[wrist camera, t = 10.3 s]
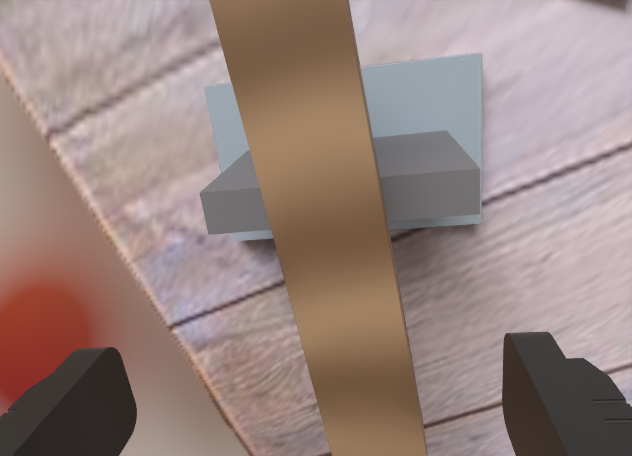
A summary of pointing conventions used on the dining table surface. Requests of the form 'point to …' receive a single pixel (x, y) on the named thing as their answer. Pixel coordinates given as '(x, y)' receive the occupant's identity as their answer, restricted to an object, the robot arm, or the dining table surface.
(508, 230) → the dining table surface
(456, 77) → the fulcrum board
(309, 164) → the walnut bar
